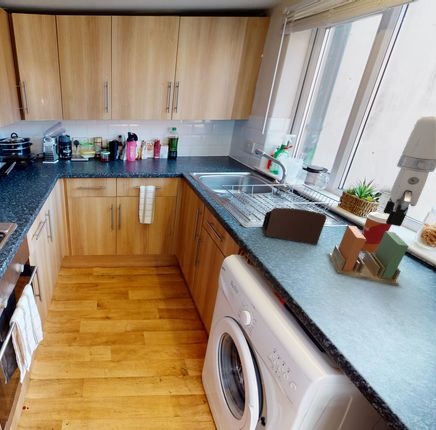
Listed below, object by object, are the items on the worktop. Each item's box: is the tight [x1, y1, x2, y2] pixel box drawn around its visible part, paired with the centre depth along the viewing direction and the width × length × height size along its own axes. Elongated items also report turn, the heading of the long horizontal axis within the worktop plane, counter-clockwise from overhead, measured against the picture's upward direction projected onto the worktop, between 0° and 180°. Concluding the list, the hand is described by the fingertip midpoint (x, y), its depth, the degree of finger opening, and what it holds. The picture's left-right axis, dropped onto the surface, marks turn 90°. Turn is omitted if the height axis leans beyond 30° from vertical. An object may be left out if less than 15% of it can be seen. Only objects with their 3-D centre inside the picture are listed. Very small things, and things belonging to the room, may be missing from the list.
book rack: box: [328, 245, 402, 287], centre depth 101 cm, size 17×13×5 cm
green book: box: [374, 231, 409, 279], centre depth 98 cm, size 3×10×13 cm, turn 157°
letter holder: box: [261, 207, 327, 246], centre depth 122 cm, size 10×20×14 cm, turn 71°
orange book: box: [338, 224, 366, 271], centre depth 101 cm, size 3×10×13 cm, turn 157°
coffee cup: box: [361, 211, 392, 254], centre depth 112 cm, size 8×8×15 cm
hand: (391, 219), depth 86 cm, fingers open, 9 cm apart
